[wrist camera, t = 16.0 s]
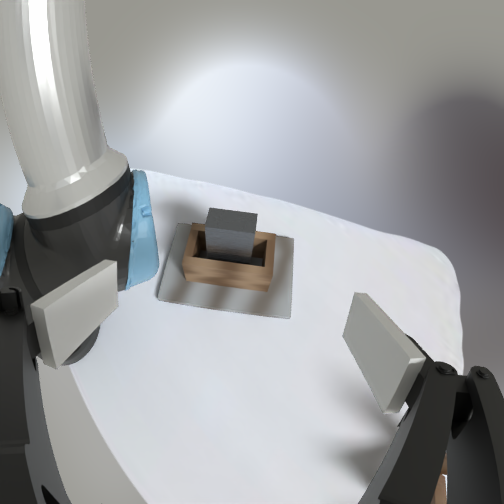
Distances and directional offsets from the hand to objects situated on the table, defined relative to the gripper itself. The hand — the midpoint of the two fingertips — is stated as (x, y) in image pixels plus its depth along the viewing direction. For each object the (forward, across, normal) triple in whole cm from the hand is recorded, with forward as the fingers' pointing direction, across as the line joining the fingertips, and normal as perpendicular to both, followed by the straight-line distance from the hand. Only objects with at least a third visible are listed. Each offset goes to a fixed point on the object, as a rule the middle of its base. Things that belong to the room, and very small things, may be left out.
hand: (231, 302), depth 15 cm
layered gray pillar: (+29, -2, -7) cm, 30 cm away
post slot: (+30, -2, -8) cm, 31 cm away
